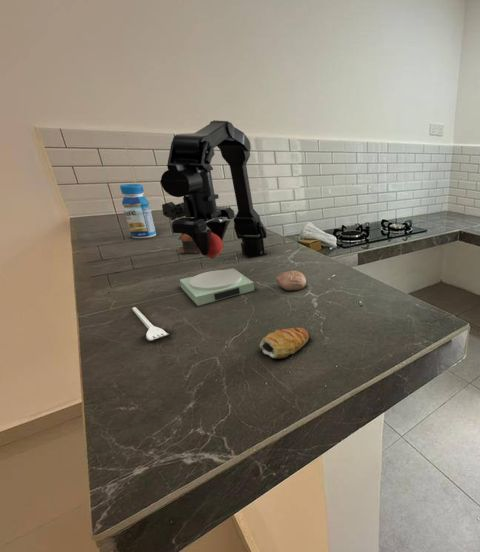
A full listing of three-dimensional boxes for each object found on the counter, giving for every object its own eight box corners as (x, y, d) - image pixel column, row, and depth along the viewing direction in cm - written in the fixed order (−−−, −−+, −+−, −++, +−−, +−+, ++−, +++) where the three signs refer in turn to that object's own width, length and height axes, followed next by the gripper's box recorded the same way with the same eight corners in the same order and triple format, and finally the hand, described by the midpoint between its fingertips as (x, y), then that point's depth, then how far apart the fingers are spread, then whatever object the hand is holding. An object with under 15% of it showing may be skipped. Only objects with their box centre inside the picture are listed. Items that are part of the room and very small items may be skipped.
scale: (234, 275, 98) (232, 265, 97) (255, 291, 89) (253, 280, 87) (181, 287, 88) (178, 276, 87) (198, 306, 79) (195, 294, 78)
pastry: (295, 331, 71) (294, 316, 70) (316, 342, 68) (316, 327, 66) (257, 351, 64) (254, 334, 62) (278, 364, 60) (276, 347, 59)
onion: (214, 263, 83) (209, 233, 80) (194, 260, 84) (188, 230, 80) (229, 256, 88) (225, 227, 85) (211, 254, 89) (206, 225, 86)
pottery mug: (171, 254, 113) (172, 231, 115) (196, 258, 122) (196, 237, 124) (197, 250, 110) (197, 226, 111) (220, 254, 119) (221, 233, 120)
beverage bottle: (161, 236, 131) (149, 185, 124) (136, 240, 125) (122, 187, 117) (151, 232, 135) (139, 183, 128) (127, 236, 129) (112, 184, 121)
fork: (142, 308, 77) (140, 301, 77) (173, 340, 66) (171, 332, 65) (125, 312, 75) (123, 305, 74) (154, 347, 63) (151, 339, 63)
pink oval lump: (269, 286, 92) (280, 288, 86) (274, 265, 93) (286, 266, 87) (293, 292, 97) (305, 294, 91) (298, 272, 98) (311, 273, 92)
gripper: (189, 184, 87) (200, 240, 93) (139, 194, 70) (156, 262, 76) (231, 186, 88) (239, 242, 94) (191, 197, 70) (204, 264, 76)
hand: (211, 251), depth 85 cm, fingers closed on onion, 6 cm apart
